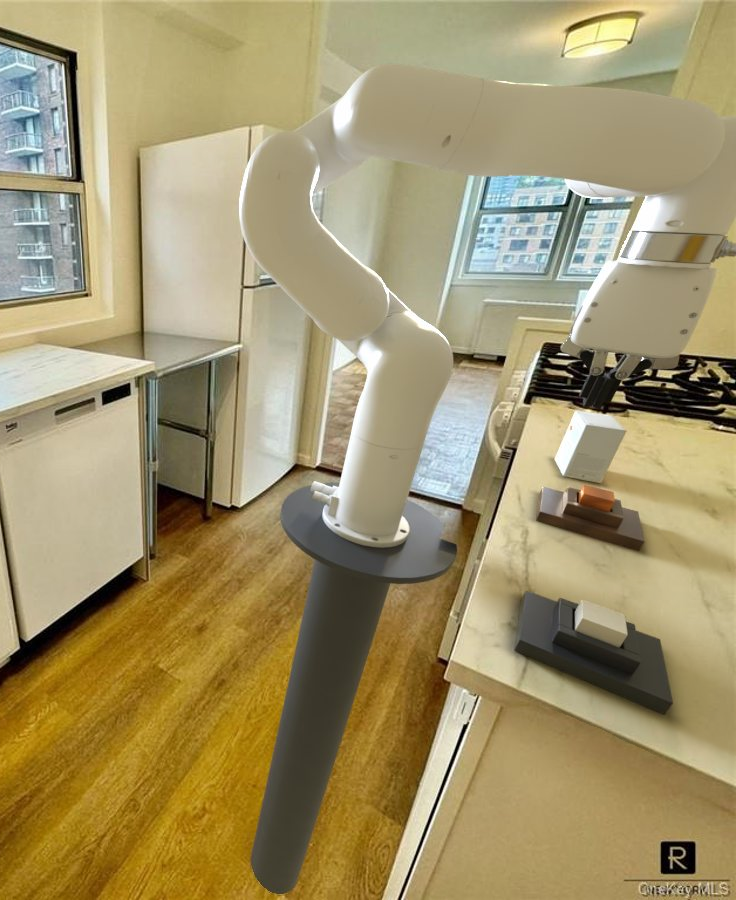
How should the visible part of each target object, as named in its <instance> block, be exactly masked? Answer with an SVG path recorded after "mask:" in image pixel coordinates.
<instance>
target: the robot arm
mask: <svg viewBox="0 0 736 900" xmlns="http://www.w3.org/2000/svg"><path fill="white" fill-rule="evenodd" d="M374 158H380V159H385V160H390V161H393V162H394V161H395V162H398V163H399V162H400V163H406V164H411V165H416V166H421V167H426V168H429V169H436V170H440V171H444V172H449V173H454V174H459V175H463V176H473V177H474V176H475V177H483V178H484V177H485V178H492V177H493V178H497V177H499V178H500V177H520V176H521V177H522V176H525V177H543V178H544V177H545V178H553V179H562V180H564V182H565V184H566V186H567V187H568V189H570V190H571V191H572V192H573V193H574V194H576V195H579V196H581V197H584V198H590V199H616V198H617V199H618V198H631V197H632V198H633V197H634V198H636V197H637V198H638V197H640V198H641V197H645V198H644V200H643V203H642V205H641V207H640V209H639V211H638V213H637V216H636V218H635V221H634V222H633V225H632V227H631V229H630V231H629V233H628V234H627V238H625V239H626V240H625V241H624V244H623V245H622V248H621V250H620V253H619V255H618V257H617V260H607V261H606V263H605V264H604V266H603V267H602V268H601V269H600V272H599V273H598V275H597V276H596V278H595V279H594V281H593V283H592V285H591V286H590V288H589V290H588V292H587V294H586V296H585V298H584V299H583V301H582V303H581V305H580V307H579V310H578V311H577V313H576V316H575V318H574V320H573V322H572V325H571V327H570V330H569V335H568V336H567V337H566V339H565V340H564V341H563V342H562V344H561V345H560V351H561V352H562V353H563V354H567V355H568V356H572V357H574V358H578V359H580V360H581V362H582V363H583V364H584V366H585V367H586V369H587V370H588V371H589V373H588V375H587V376H586V379H585V381H584V384H583V385H582V388H581V390H580V392H579V394H578V396H579V398H581V399H582V398H583V399H582V404H583V407H586V408H590V407H593V408H594V409H595V410H601V409H602V407H603V405H604V403H609V404H610V403H611V402H613V401H612V400H613V399H614V397H615V395H616V393H617V391H618V389H619V386H620V385H621V383H622V381H623V380H627V379H628V378H630V377H631V376H633V375H636V374H639V373H642V372H643V371H646V370H673V369H675V368H677V367H678V365H679V361H680V356H681V353H683V352H684V350H685V349H686V347H687V345H688V343H689V342H690V340H691V338H692V336H693V334H694V332H695V330H696V327H697V325H698V323H699V321H700V318H701V317H702V314H703V313H704V312H703V311H704V309H705V307H706V305H707V302H708V300H709V297H710V295H711V292H712V289H713V285H714V281H715V279H716V274H717V270H718V268H716V267H711V265H712V263H715V261H716V260H719V259H720V258H723V259H724V258H725V257H730V258H734V257H736V242H733V241H732V240H731V241H729V239H728V238H729V236H728V233H729V232H730V230H731V228H732V226H733V224H734V222H735V220H736V115H726V116H720V114H718V113H717V111H716V110H715V109H714V108H711V107H710V106H708V105H707V104H705V103H701V102H699V101H696V100H691V99H687V98H681V97H675V96H669V95H663V94H658V93H653V92H646V91H640V90H633V89H625V88H615V87H603V86H601V87H599V86H577V85H576V86H575V85H574V86H571V85H556V84H544V83H517V82H516V83H515V82H509V81H501V80H496V79H489V78H483V77H477V76H471V75H467V74H459V73H455V72H448V71H443V70H439V69H433V68H426V67H421V66H416V65H410V64H405V63H382V64H379V65H375V66H372V67H370V68H369V69H368V70H366V71H364V72H363V73H362V74H361V75H360V76H359V77H358V78H357V79H356V80H354V81H353V83H352V84H351V85H350V87H349V88H348V89H347V91H346V92H345V94H344V95H342V96H341V97H340V98H339V99H337V100H336V101H335V102H334V103H332V104H331V105H329V106H328V107H327V108H325V109H324V110H322V111H321V112H319V113H317V114H316V115H315V116H314V117H312V118H311V119H309V120H308V121H307V122H304V123H303V124H302V125H300V126H299V127H298V128H296V129H294V130H283V131H277V132H276V133H273V134H270V135H269V136H266V138H264V139H263V140H262V141H261V142H260V143H259V144H258V145H257V147H256V148H255V149H254V150H253V152H252V154H251V156H250V157H249V160H248V161H247V165H246V167H245V171H244V174H243V179H242V184H241V190H240V194H239V203H238V204H239V205H238V209H239V210H238V211H239V213H238V215H239V225H240V231H241V234H242V237H243V240H244V242H245V245H246V247H247V249H248V251H249V253H250V255H251V257H252V258H253V260H254V262H256V264H257V265H258V266H259V267H260V269H262V270H263V272H264V273H265V274H266V275H267V276H268V277H269V278H270V279H271V280H272V281H273V282H274V283H275V284H277V286H278V287H279V288H281V290H282V291H283V292H284V293H285V294H286V295H287V296H288V297H289V298H290V299H291V300H292V301H293V302H294V303H296V304H297V306H299V307H300V308H301V309H302V310H303V311H304V312H305V313H306V314H307V315H308V316H309V317H310V318H311V320H312V321H313V322H314V323H315V325H316V326H317V327H318V328H319V329H320V330H321V331H322V332H323V333H325V334H326V335H328V336H330V337H331V338H334V339H336V340H338V341H339V342H340V343H341V344H342V345H343V346H344V347H345V348H346V349H347V350H348V351H350V353H352V354H353V355H354V356H355V357H356V358H357V359H358V360H359V361H360V362H361V363H362V364H363V366H364V368H365V370H366V371H367V375H366V379H365V382H364V386H363V389H362V392H361V394H360V397H359V400H358V403H357V405H356V409H355V413H354V418H353V421H352V426H351V432H350V436H349V441H348V446H347V448H346V453H345V458H344V462H343V467H342V471H341V476H340V480H339V483H340V484H339V487H336V486H333V487H330V486H327V485H325V484H322V483H323V482H319V481H315V480H314V481H313V482H312V484H311V485H312V486H311V492H313V493H314V494H313V499H315V500H318V501H322V502H325V503H326V505H325V506H324V509H323V514H322V516H323V520H324V522H325V524H326V525H327V526H328V528H330V529H331V530H332V531H333V532H334V533H336V534H337V535H339V536H340V537H342V538H344V539H346V540H348V541H351V542H354V543H357V544H360V545H364V546H369V547H378V548H386V547H393V546H397V545H400V544H402V543H403V542H405V541H406V539H407V538H408V535H409V532H410V527H409V524H408V522H407V521H406V520H405V518H404V517H403V516H402V514H403V511H404V508H405V504H406V501H407V500H408V497H409V494H410V490H411V487H412V484H413V481H414V478H415V474H416V471H417V467H418V465H419V461H420V458H421V455H422V451H423V448H424V445H425V441H426V438H427V434H428V432H429V427H430V425H431V421H432V419H433V417H434V414H435V412H436V408H437V406H438V404H439V402H440V400H441V398H442V396H443V394H444V392H445V391H446V389H447V387H448V384H449V382H450V380H451V376H452V373H453V369H454V353H453V350H452V347H451V345H450V343H449V341H448V340H447V337H445V335H444V334H443V333H441V331H439V330H438V329H437V328H435V327H434V326H433V325H431V324H429V323H428V322H426V321H424V320H423V319H422V318H420V317H419V316H418V315H416V314H415V313H414V312H413V311H411V309H409V308H408V306H406V305H405V303H403V302H402V301H401V300H400V299H399V298H398V297H397V296H396V295H395V294H394V293H393V292H392V291H390V289H389V288H388V287H387V286H386V284H385V283H384V281H383V280H382V278H381V276H379V275H378V273H376V272H375V271H374V270H373V269H371V268H370V267H369V266H366V265H364V264H363V263H362V262H361V261H360V260H358V259H357V258H356V257H355V256H354V255H353V254H352V253H351V252H350V251H349V250H348V249H347V248H346V247H344V245H342V243H340V242H339V240H338V239H337V238H336V237H335V236H334V235H333V233H331V232H330V231H329V230H328V229H327V228H326V227H325V226H324V225H323V224H322V223H321V222H320V220H319V218H318V216H317V215H316V213H315V210H314V207H313V201H312V200H313V196H314V195H315V194H317V193H319V192H321V191H322V190H324V189H325V188H327V187H329V186H331V185H332V184H335V182H337V181H339V180H340V179H342V178H344V177H346V176H347V175H348V174H350V173H352V172H354V171H355V170H357V169H358V168H359V167H361V166H363V165H364V164H365V163H367V162H368V161H370V160H372V159H374ZM609 352H610V353H618V354H623V356H621V358H620V359H619V361H618V362H617V363H616V364H615V367H614V368H613V369H610V370H609V372H607V373H606V369H605V366H606V362H607V359H608V355H609Z"/></svg>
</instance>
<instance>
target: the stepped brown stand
mask: <svg viewBox="0 0 736 900" xmlns="http://www.w3.org/2000/svg"><path fill="white" fill-rule="evenodd" d="M580 490H581V489H579V488H574V487H570V486H566V489H565V491H562V490H558V489H554V488H551V487H546V486H542V487H541V490H540V491H539V494H538V502H537V509H536V518H535V520H536V521H538V522H540V523H543V524H547V525H550V526H553V527H557V528H561V529H564V530H567V531H570V532H573V533H577V534H581V535H583V536H588V537H591V538H595V539H598V540H601V541H603V542H608V543H611V544H615V545H619V546H621V547H625V548H628V549H631V550H634V551H637V552H638V551H641V549H642V547H643V546H644V544H645V541H646V540H645V537H644V531H643V527H642V523H641V519H640V514H639V511H637V510H634V509H630V508H626V507H623V506H622V501H621V499H616V498H614V499H615V503H614V504H613V506H612V508H611V510H610V512H609V511H606V510H602V509H598V508H594V507H591V506H587V505H583V504H579V503H578V494H579V492H580Z"/></svg>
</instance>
